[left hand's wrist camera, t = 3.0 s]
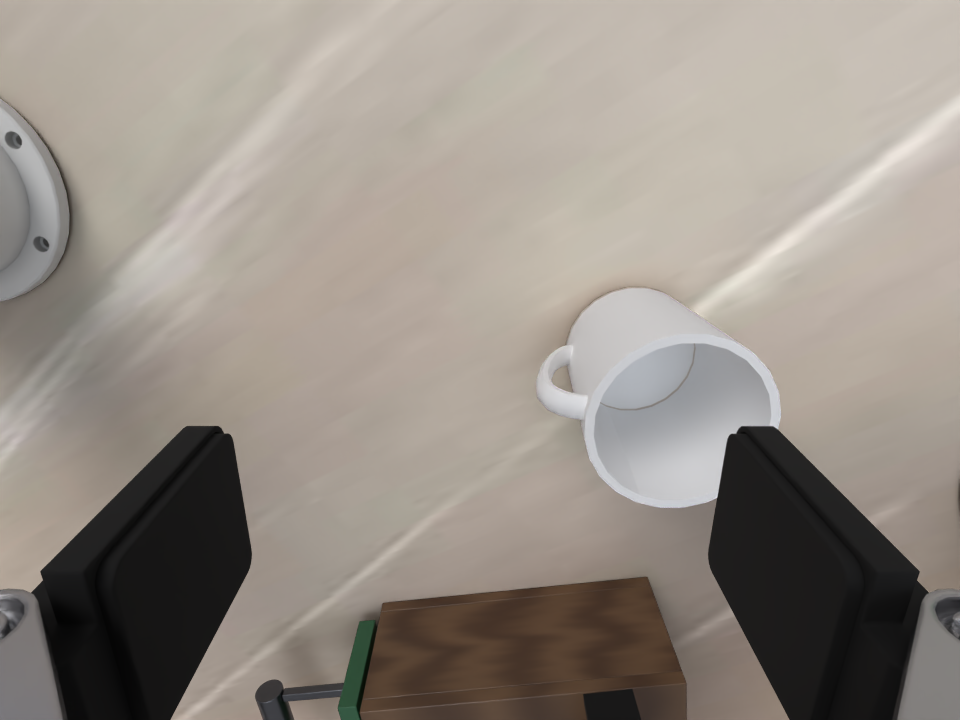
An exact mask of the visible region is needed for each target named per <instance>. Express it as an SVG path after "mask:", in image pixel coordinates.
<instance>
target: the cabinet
mask: <svg viewBox="0 0 960 720" xmlns="http://www.w3.org/2000/svg"><path fill="white" fill-rule="evenodd" d="M625 689H633V693H634V696H635V700H636V703H637V707H638V710H639V714H640V717H641V720H687V689H686V681H685V678H684V675H683V672H682V670H681V667H680V664H679V662H678V659H677V656H676V654H675V651H674V648H673V645H672V643H671V640H670V637H669V635H668V632H667V629H666V626H665V624H664V621H663V618H662V616H661V613H660V610H659V608H658V605H657V602H656V599H655V597H654V594H653V591H652V589H651V586H650V583H649V580H648V578H647V577H642V578H632V579H621V580H611V581H601V582H591V583H581V584H571V585H561V586H551V587H541V588H531V589H521V590H511V591H501V592H491V593H480V594H470V595H460V596H450V597H440V598H430V599H420V600H410V601H400V602H390V603H383V604H382V609H381V614H380V619H379V624H378V628H377V633H376V638H375V642H374V647H373V652H372V657H371V661H370V666H369V671H368V676H367V680H366V685H365V690H364V695H363V699H362V704H361V709H360V716H361V719H362V720H587V717H586V712H585V707H584V699H583V694H587V693H597V692H606V691H616V690H625Z"/></svg>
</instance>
